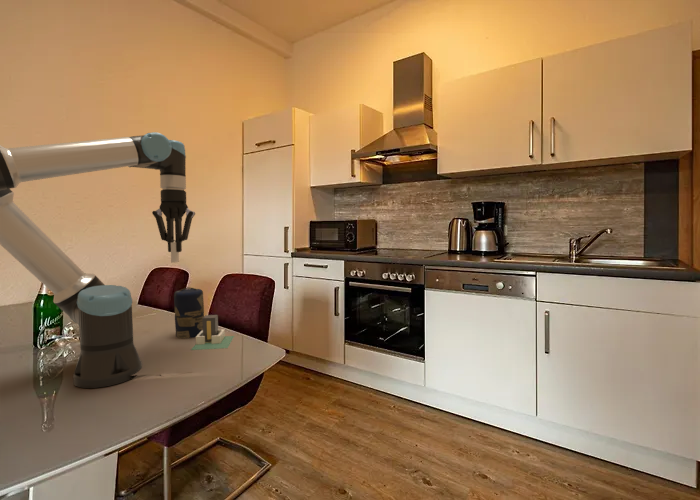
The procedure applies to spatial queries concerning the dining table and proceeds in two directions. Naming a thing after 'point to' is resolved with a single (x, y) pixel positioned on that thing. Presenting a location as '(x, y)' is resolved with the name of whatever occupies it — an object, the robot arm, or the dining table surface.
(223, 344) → the board
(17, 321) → the dining table surface
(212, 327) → the plug
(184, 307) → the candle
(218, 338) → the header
